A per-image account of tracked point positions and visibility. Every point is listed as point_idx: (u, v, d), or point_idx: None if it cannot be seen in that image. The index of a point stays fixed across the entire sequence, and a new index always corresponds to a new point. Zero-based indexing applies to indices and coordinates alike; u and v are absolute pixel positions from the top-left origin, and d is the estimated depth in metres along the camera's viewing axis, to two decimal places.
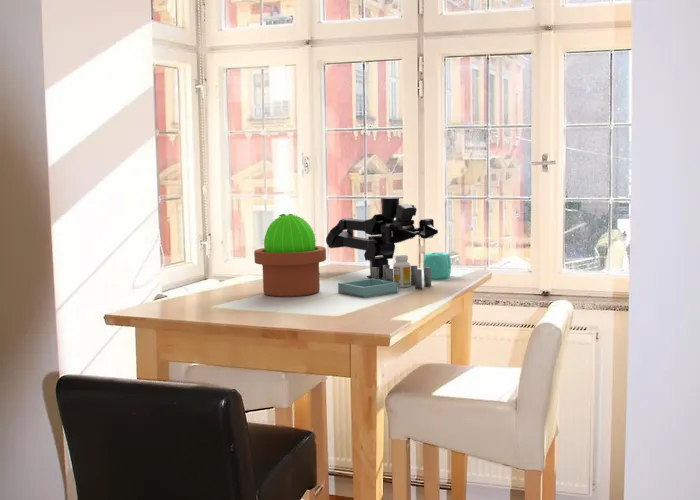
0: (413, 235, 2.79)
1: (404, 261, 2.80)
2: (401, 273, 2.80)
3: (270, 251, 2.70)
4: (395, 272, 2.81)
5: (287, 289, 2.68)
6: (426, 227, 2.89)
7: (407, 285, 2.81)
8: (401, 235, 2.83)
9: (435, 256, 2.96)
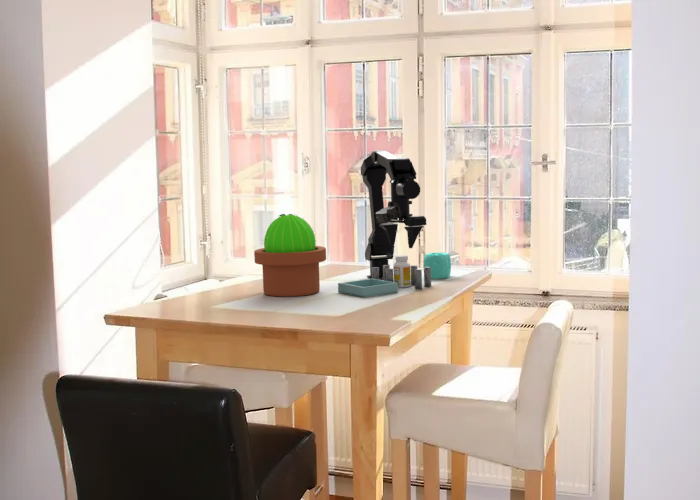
0: None
1: (404, 261, 2.80)
2: (401, 273, 2.80)
3: (270, 251, 2.70)
4: (395, 272, 2.81)
5: (287, 289, 2.68)
6: None
7: (407, 285, 2.81)
8: None
9: (435, 256, 2.96)
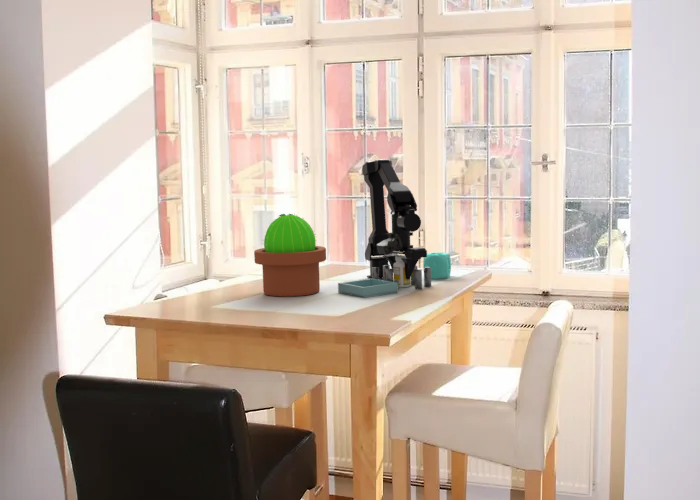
0: None
1: None
2: (401, 273, 2.80)
3: (270, 251, 2.70)
4: (395, 272, 2.81)
5: (287, 289, 2.68)
6: None
7: (407, 285, 2.81)
8: None
9: (435, 256, 2.96)
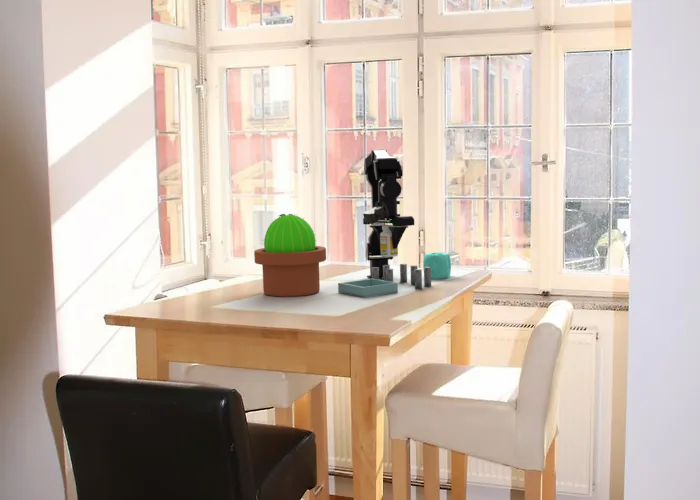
0: None
1: None
2: (388, 243, 2.74)
3: (270, 251, 2.70)
4: (382, 241, 2.75)
5: (287, 289, 2.68)
6: None
7: (394, 255, 2.75)
8: None
9: (435, 256, 2.96)
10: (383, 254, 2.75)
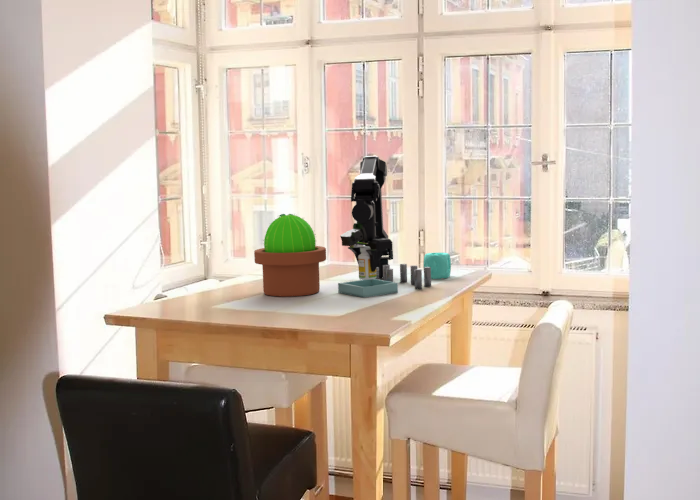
0: None
1: None
2: (366, 265, 2.68)
3: (270, 251, 2.70)
4: (360, 264, 2.69)
5: (287, 289, 2.68)
6: None
7: (372, 277, 2.69)
8: None
9: (435, 256, 2.96)
10: (361, 277, 2.70)
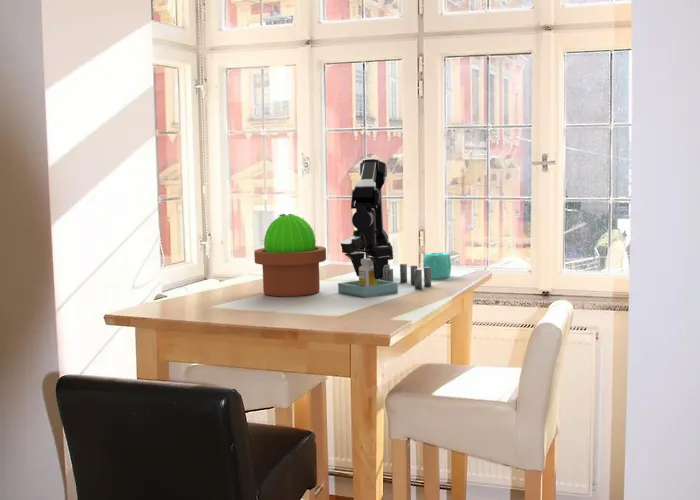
0: None
1: (370, 264, 2.69)
2: (367, 277, 2.69)
3: (270, 251, 2.70)
4: (360, 276, 2.70)
5: (287, 289, 2.68)
6: None
7: None
8: None
9: (435, 256, 2.96)
10: None
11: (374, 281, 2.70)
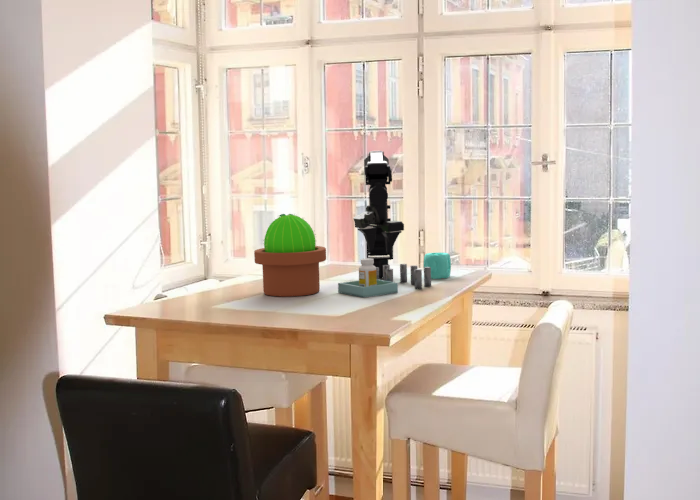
0: None
1: (370, 264, 2.69)
2: (367, 277, 2.69)
3: (270, 251, 2.70)
4: (360, 276, 2.70)
5: (287, 289, 2.68)
6: None
7: None
8: None
9: (435, 256, 2.96)
10: None
11: (374, 281, 2.70)
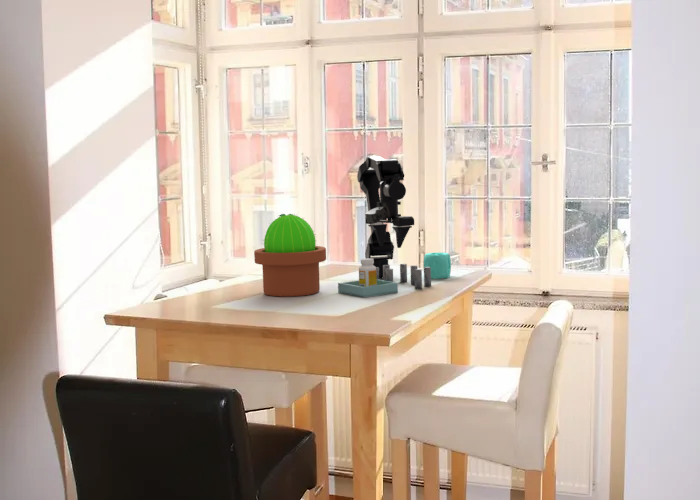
0: None
1: (370, 264, 2.69)
2: (367, 277, 2.69)
3: (270, 251, 2.70)
4: (360, 276, 2.70)
5: (287, 289, 2.68)
6: None
7: None
8: None
9: (435, 256, 2.96)
10: None
11: (374, 281, 2.70)
